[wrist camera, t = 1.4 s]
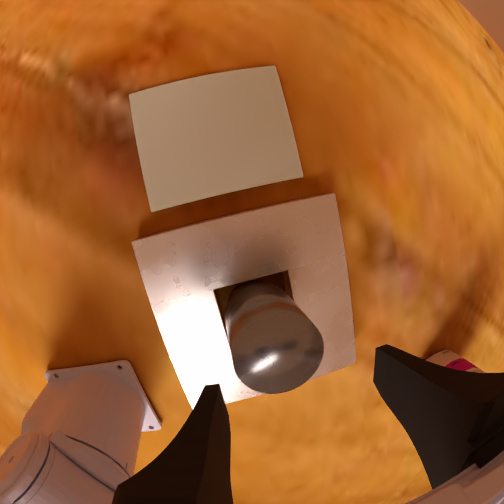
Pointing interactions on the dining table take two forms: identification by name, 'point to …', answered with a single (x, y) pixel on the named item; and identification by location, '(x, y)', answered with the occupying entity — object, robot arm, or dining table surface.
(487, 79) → the dining table surface
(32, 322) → the dining table surface
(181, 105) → the pad
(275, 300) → the grey metal cylinder
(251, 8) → the dining table surface
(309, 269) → the housing plate
